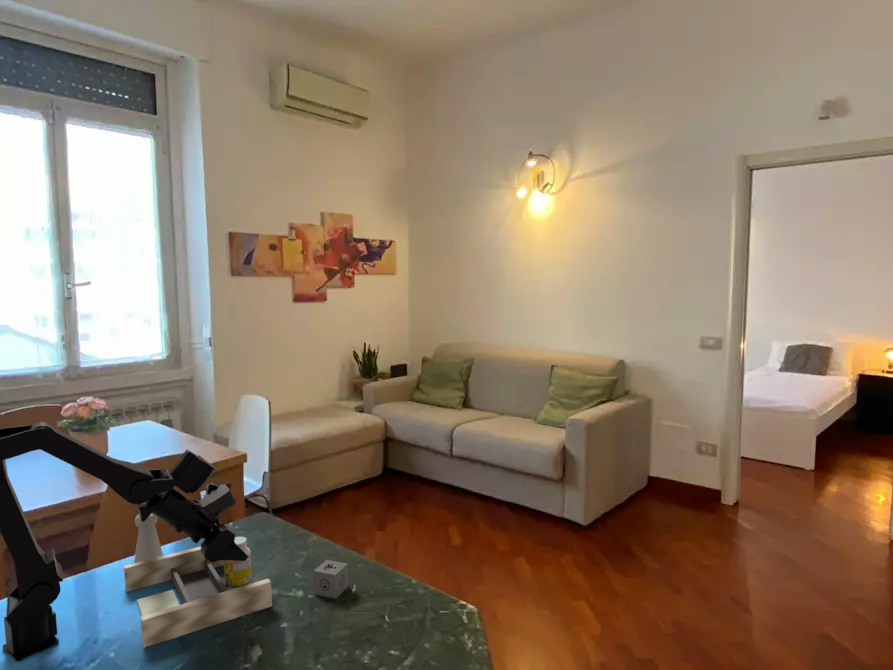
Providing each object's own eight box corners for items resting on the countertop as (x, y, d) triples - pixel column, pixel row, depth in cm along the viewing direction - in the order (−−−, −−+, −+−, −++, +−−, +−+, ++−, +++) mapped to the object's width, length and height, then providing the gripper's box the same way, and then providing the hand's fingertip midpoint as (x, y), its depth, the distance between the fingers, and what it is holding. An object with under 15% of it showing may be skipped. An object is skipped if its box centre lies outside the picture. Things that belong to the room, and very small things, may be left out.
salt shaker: (169, 565, 133) (166, 508, 132) (154, 578, 128) (151, 519, 126) (144, 564, 134) (141, 508, 133) (128, 577, 128) (124, 518, 127)
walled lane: (143, 647, 104) (141, 620, 103) (125, 589, 123) (123, 565, 123) (271, 606, 117) (271, 581, 116) (236, 558, 136) (235, 537, 136)
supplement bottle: (254, 587, 124) (252, 542, 123) (226, 594, 121) (224, 548, 120) (249, 576, 128) (247, 532, 127) (223, 582, 126) (220, 538, 125)
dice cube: (327, 582, 126) (326, 559, 125) (348, 586, 124) (347, 563, 123) (314, 594, 121) (313, 570, 120) (336, 599, 119) (335, 575, 119)
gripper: (220, 490, 112) (281, 532, 119) (197, 464, 127) (252, 503, 135) (178, 542, 108) (243, 582, 116) (159, 509, 124) (217, 546, 131)
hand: (239, 550), depth 124 cm, fingers open, 9 cm apart
